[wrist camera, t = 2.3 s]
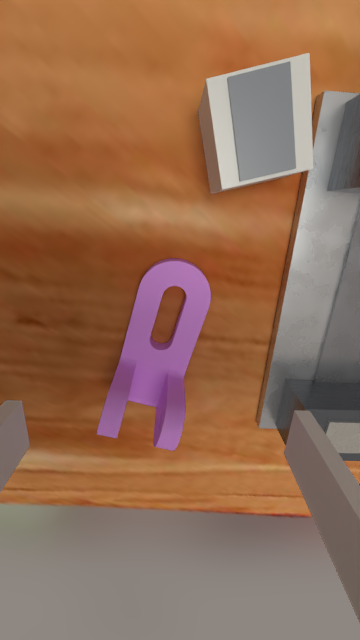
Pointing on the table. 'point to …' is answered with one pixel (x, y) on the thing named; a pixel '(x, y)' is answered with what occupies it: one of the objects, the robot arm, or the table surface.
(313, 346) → the rail board
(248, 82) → the block
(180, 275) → the bracket
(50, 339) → the table surface
